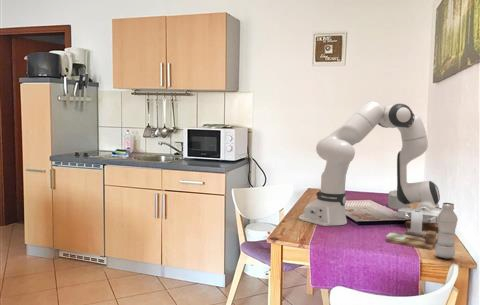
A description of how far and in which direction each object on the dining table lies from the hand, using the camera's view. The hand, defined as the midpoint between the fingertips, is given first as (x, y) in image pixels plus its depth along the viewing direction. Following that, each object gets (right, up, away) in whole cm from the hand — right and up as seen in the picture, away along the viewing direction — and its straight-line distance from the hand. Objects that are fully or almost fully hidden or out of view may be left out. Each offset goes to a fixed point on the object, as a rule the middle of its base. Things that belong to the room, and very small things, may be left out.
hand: (418, 219), depth 189 cm
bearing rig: (-8, -7, -13) cm, 17 cm away
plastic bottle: (-3, -10, -30) cm, 32 cm away
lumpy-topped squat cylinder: (+9, -1, +50) cm, 51 cm away
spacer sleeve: (-2, -6, -2) cm, 7 cm away
